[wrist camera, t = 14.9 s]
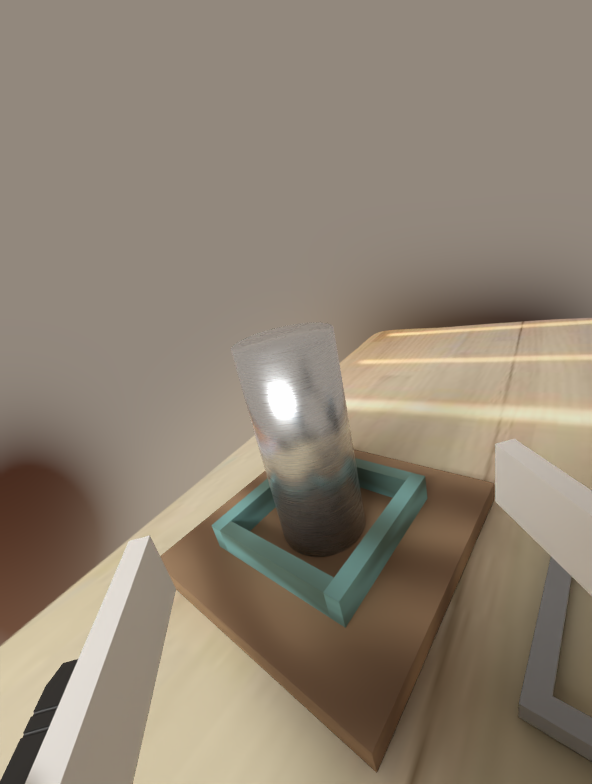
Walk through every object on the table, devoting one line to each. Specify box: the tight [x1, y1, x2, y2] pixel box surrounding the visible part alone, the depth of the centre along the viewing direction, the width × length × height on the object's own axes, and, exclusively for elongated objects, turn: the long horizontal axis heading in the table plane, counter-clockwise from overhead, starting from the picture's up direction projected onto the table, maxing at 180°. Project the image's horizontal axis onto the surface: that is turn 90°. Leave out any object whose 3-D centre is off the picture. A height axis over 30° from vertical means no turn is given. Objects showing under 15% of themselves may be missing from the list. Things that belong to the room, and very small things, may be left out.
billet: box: [231, 323, 365, 557], centre depth 23 cm, size 6×6×14 cm
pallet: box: [160, 450, 494, 772], centre depth 25 cm, size 18×18×4 cm
